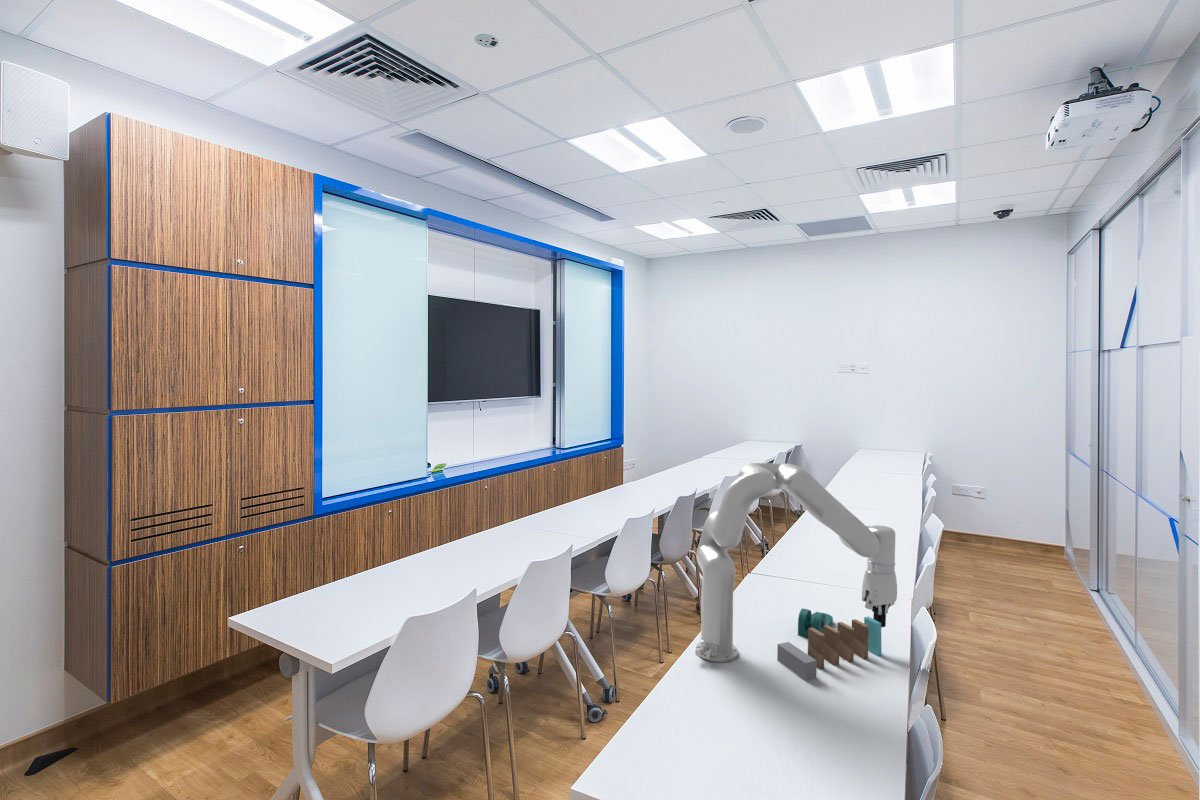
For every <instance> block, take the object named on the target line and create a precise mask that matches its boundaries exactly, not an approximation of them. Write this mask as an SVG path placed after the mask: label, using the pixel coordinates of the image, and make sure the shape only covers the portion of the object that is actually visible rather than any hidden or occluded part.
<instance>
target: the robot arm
mask: <svg viewBox="0 0 1200 800" xmlns="http://www.w3.org/2000/svg"><path fill="white" fill-rule="evenodd" d="M774 490H784V491H785V492H787V493H788V494H790V496H791V497H792V498H793V499H794V500H795V501H796V502H798V503H799V504H800V505H801V506H802V507H803V508H804V509H805V511H807V512H808V514H810V515H811V516H812V517H814V519H816V520H817V521H819V523H821V524H822V525H824V526H825V527H827V528H829V529H830V530H831V531H832V532H834V533H835V534H836V535H837V536H838V537H839V540H840V542H841V543H842V544H843V545H844V546H845V547H846V548H848V549H850V550H851V551H853V552H854V553H856V555H858V556H860V557H863V558H867V567H866V570H865V571H864V574H863V579H862V584H861V585H862V587H861V601H863V603H865V604H864V605H865V606H864V608H865V609H867V610H871V611H872V613H873V616H872V619H874V620H876V621H878V622H880V623H881V629H882V628H885V627H886V624H887V623H886V622H887V620H886V619H887V615H888V612H889V608H890V607H893V606H894V605H895V603H896V602H897V599H898V584H897V583H898V582H897V574H896V571H895V567H896V531H895V530H894V529H893V528H892V527H889V526H887V525H871V526H870V525H865V524H864V523H863V522H862V520H860V519H859V518H858V517H857V516H855V515H854V514H853V513H852V512H851V511H850V510H848V509H847V508H846V507H845V506H844V505H843V503H842V502H840V501H839V500H838V499H836V497H835V496H834V495H832V494H831V492H829V491H828V490H827V489H826V488H825V487H824V486H823V485H822V484H820V482H819V481H818V480H817V479H815V478H814V477H813V476H812V475H811V474H810V473H809V472H808V471H807V470H806V469H804V468H803V467H801V466H798V465H796V464H792V463H783V462H782V463H778V462H777V463H774V462H773V463H772V462H770V463H769V462H751V463H748V464H745V465H744V466H743V467H742V468H741V469H740V470H739V474H738V478H737V479H736V480H734V481H732V483H731V484H730V485H729V486H727V488H726V490H725V491H724V494H723V496H722V500H721V502H720V504H719V508H718V510H714V511H712V512H711V513H709V515H708V517H707V518H706V519H705V522H704V525H703V527H702V531H701V535H700V538H699V543H698V546H697V550H696V562H697V564H698V566H699V568H700V570H701V572H702V584H701V592H700V595H701V597H700V599H701V601H700V603H701V604H700V605H701V607H700V608H701V610H700V612H701V613H700V614H701V615H700V617H701V618H700V625H701V627H700V638H701V639H700V641H699V642H698V643H697V644H696V646H695V653H694V654H695V656H696V657H698V658H699V657H700V658H702V659H704V660H706V661H709V662H710V661H711V662H713V663H726V662H727V663H729V662H731V661H733V660H736V658H737V657H738V655H739V651H738V648H737V647H736V645H734V643H733V641H734V588H735V587H734V586H735V579H736V567H735V563H734V561H733V559H732V558H731V556H730V555H729V553H728V550H731V549H734V548H735V547H737V546H738V545H739V544H740V541H741V539H742V536H743V533H744V529H745V525H746V521H747V517H748V515H749V511H750V509H751V506H752V505H753V504H754V503H755V501H757V500H759V499H760V498H762V497H766V496H768V495H770V494H771V493H772V492H773V491H774Z"/></svg>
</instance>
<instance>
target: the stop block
mask: <svg viewBox="0 0 1200 800" xmlns="http://www.w3.org/2000/svg"><path fill="white" fill-rule="evenodd" d="M776 652H777V655H776V656H777V657H776V658H777V662H779V663H780V664H782V665H783V666H784V667H785V668H787V669H788V670H790V671H791V672H793V673H794V674H796V676H798V677H799V678H800V679H802V680H803V681H809V680H814V679H817V669H818V668H817V661H816V660H815V659H813V658H812V657H810V656H809V655H808V653H806V652H804V651H803V650H802V649H800V648H799V647H797V646H796V645H795V644H793V643H791V642H790V641H787V642H781V643H778V644H777V651H776Z"/></svg>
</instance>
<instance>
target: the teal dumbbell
mask: <svg viewBox="0 0 1200 800" xmlns="http://www.w3.org/2000/svg"><path fill="white" fill-rule="evenodd" d="M797 619H798V621H797V636H800V637H802V636H803V638H806V637H807V639H808V628H814V629H816V630H818V631H819V632H821V633H823V626H824V625H829V626H830V627H833V625H834V620H833V619H834V617H833V616H832V615H830V614H828V613H826V612H825V613H824V612H819V611H815V612H813V613H812V611H811V609H808V608H801V609H800V610H799V613H798V618H797Z"/></svg>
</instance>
